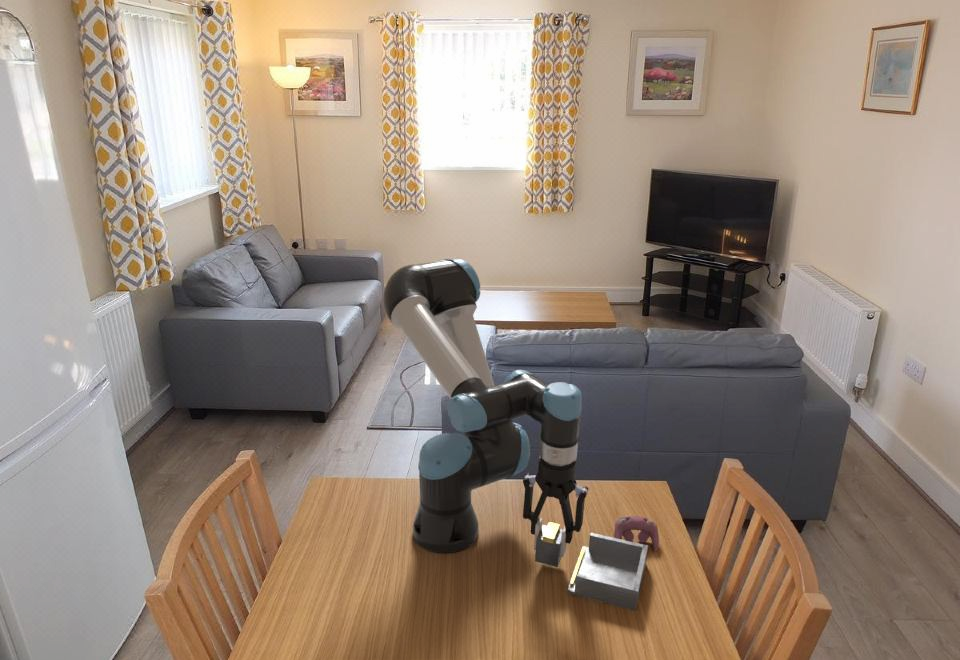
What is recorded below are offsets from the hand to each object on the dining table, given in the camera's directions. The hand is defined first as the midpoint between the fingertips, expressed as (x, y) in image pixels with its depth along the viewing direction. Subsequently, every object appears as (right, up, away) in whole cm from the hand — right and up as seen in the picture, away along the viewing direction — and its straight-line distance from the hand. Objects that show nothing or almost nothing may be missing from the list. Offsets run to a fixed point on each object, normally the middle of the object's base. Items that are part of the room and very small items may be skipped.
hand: (550, 549), depth 148 cm
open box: (+12, -5, -2) cm, 13 cm away
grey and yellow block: (0, -2, 0) cm, 2 cm away
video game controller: (+20, -2, +9) cm, 22 cm away
